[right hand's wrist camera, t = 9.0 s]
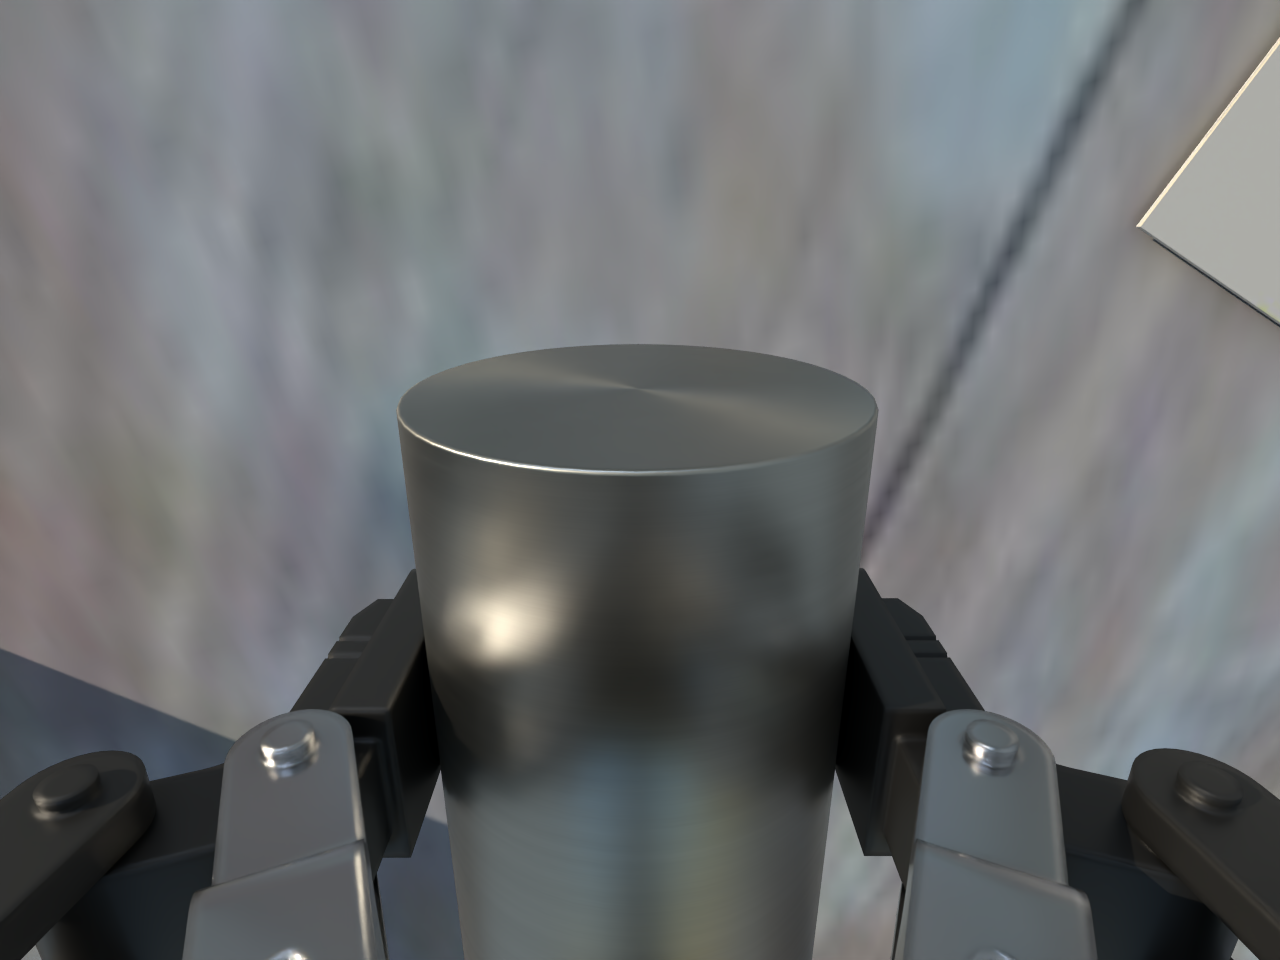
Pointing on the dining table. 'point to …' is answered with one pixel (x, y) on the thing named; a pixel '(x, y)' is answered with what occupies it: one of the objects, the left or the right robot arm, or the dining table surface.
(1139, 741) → the dining table surface
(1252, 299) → the invitation card
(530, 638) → the rod
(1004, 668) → the dining table surface
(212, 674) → the dining table surface
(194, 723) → the dining table surface
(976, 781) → the right robot arm
